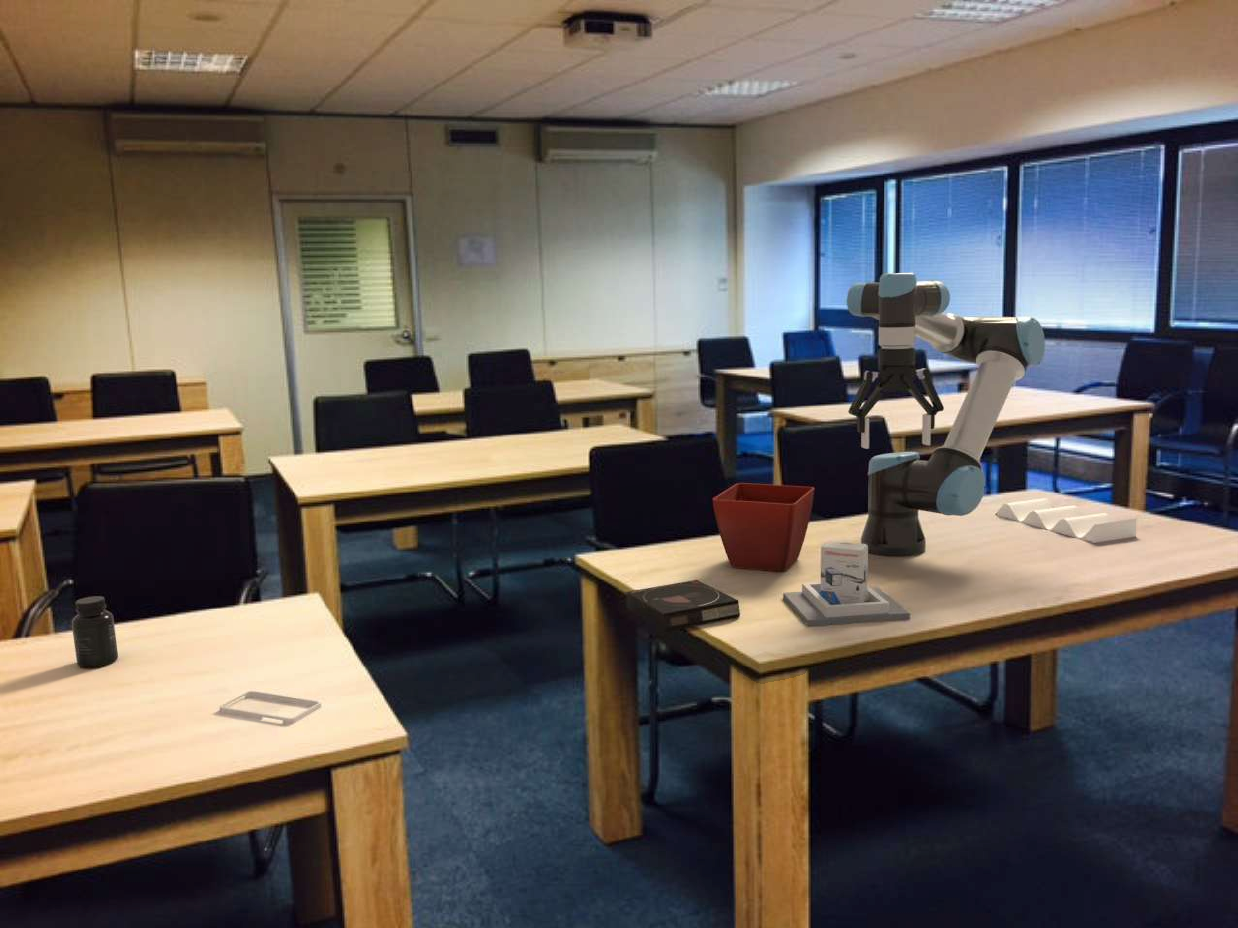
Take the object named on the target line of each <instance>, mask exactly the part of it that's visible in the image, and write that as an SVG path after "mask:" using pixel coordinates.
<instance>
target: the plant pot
mask: <svg viewBox="0 0 1238 928" xmlns="http://www.w3.org/2000/svg"><path fill="white" fill-rule="evenodd" d="M814 494H815V487H813V486H803V485H802V486H799V485H782V484H767V483H766V484H765V483H750V482H749V483H748V482H747V483H746V482H740V483H735V484H734V485H732V486H731V487H729V488H728V489H727V488H726V490H724V491H723V492H721V493H719V494H718V495H716V496H714V497H713V498H712V506H713V511H714V516H715V520H716V524H717V528H718V533H719V535H720V539H721V542H722V545H723V548H724V552H725V554H726V556H727V559H728V561H729V564H730V566H731V568H735V569H747V570H759V571H768V572H778V573H779V572H780V573H782V572H785V571H786V570H788V569H789V568H790V567H791V566H792V565H793V564H794V563H795V562H796V561H797V559H798V558H799V557H800V554H801V552H802V549H803V548H802V547H803V545H804V542H805V538H806V534H807V530H808V527H809V522H810V517H811V514H812V509H813V503H814V496H815V495H814Z"/></svg>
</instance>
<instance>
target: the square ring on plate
mask: <svg viewBox="0 0 1238 928" xmlns="http://www.w3.org/2000/svg"><path fill="white" fill-rule="evenodd" d="M820 593H821V581H817V582H814V581H813V582H803V583H801V591H793V592H792V591H790V592H789V591H788V592H787V591H786V592H783V593H782V598H783V600H784V601H785V602H786V603H787V604H788V605H789V607H790V608H791V609H792V610H793V612H794V613H796V614H797V615H798V617H799V618H800V619H801V620H802V621H803V622H804V623H805V625H806V626H808V627H817V626H830V625H845V624H857V623H858V624H860V623H872V622H874V623H875V622H885V621H901V620H902V621H903V620H910V619H911V613H910V612H909V611H908V610H907V609H906V608H905V607H903V606H902V605H900V603H898V602H897V601H895V600H894V598H892V597H891V596H889V595H888V594H887V593H886V592H884V591H883V590H882V589H880V587H878V586H877V585H876V586H869V585H868V584H867V603H854V604H839V605H833V604H829V603H828V602H827V601H826V600H825V599H824V598H823V597H822V596H821V595H820Z"/></svg>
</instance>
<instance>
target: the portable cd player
mask: <svg viewBox="0 0 1238 928" xmlns="http://www.w3.org/2000/svg"><path fill="white" fill-rule="evenodd" d="M625 593H626V595H625V596H626V609H627V610H628V611H630V612H632V613H633V614H635V615H637V616H638V617H640V618H642V619H643V620H644V621H646V622H648V623H649V624H651V625H653V626H654V627H655V628H658V629H659V630H661V631H663V632H665V633H666V632H672V631H677V630H681V629H687V628H692V627H698V626H703V625H708V624H713V623H718V622H724V621H729V620H734V619H739V618H740V615H741V612H740V611H741V610H740V606H739V604H740V603H739V599H737V598H735V597H733V596H730V595H729V594H727V593H725V592H723V591H720V589H719V590H718V589H716V588H715V587H713V586H710V585H709V584H706V583H705V582H702V581H700V580H698V579H693V580H688V581H683V582H675V583H670V584H663V585H658V586H653V587H647V588H640V589H636V590H635V589H634V590H628V591H626V592H625Z"/></svg>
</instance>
